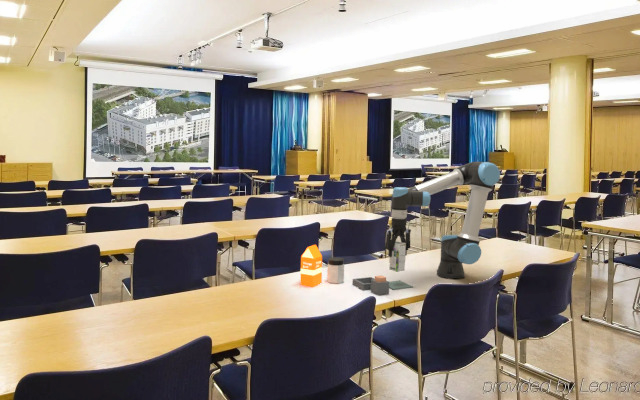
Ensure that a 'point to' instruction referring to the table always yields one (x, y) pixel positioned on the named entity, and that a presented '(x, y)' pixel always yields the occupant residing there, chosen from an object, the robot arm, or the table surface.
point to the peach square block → (380, 278)
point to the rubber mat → (398, 285)
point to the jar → (335, 270)
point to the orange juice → (311, 267)
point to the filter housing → (372, 285)
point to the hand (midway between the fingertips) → (397, 262)
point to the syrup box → (398, 257)
